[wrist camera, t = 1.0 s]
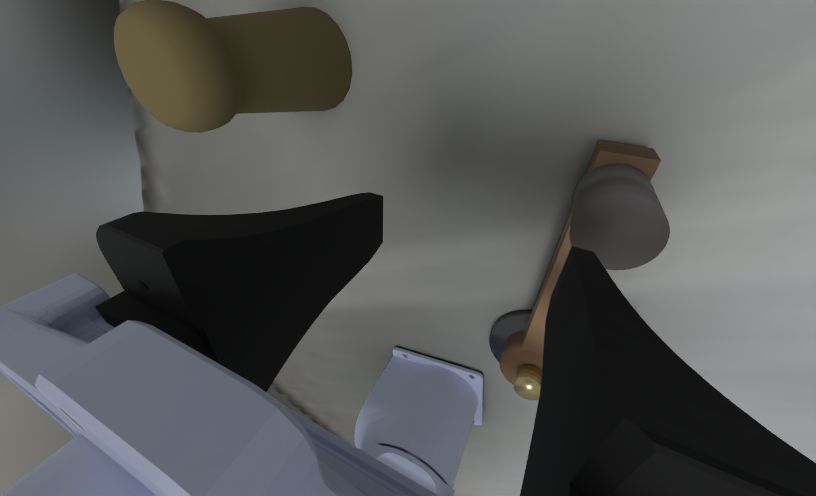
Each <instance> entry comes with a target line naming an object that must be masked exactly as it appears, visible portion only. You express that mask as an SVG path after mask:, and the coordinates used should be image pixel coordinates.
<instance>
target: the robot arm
mask: <svg viewBox="0 0 816 496" xmlns="http://www.w3.org/2000/svg"><path fill="white" fill-rule="evenodd" d="M96 237H97V242H98V245H99V247H100V249H101V251H102V253H103V255H104V257H105V259H106V260H107V262H108V264H109V265H110V267H111V269H112V270H113V272H114V274H115V275H116V277H117V279H118V280H119V282H120V284H121V285H122V287H123V289H124V290H125V291H123V292H121V293H119V294H117V295H116V296H114V297H112V298H110V297H109V295H108V294H107V293H106V291H105V290H104V289H103V288H102V287H101V286H99V285H98V284H97V283H95V282H93V281H91V280H89V279H88V278H86V277H84V276H82V275H80V274H76V273H75V274H72V275H70V276H67V277H65V278H63V279H61V280H59V281H56V282H54V283H52V284H50V285H47V286H45V287H43V288H41V289H38V290H36V291H34V292H32V293H30V294H27V295H25V296H23V297H21V298H18V299H16V300H14V301H12V302H9V303H7V304H5V305H3V306H1V307H0V371H1V372H2V373H3V374H4V375H5V376H6V377H7V378H8V379H9V380H11V381H12V382H13V383H14V384H15V385H16V386H17V387H18V388H20V389H21V390H22V391H23V392H24V393H25V394H27V395H28V396H29V397H30V398H31V399H32V400H33V401H34V402H36V403H37V404H38V405H39V406H40V407H41V408H43V409H44V410H45V411H46V412H47V413H48V414H49V415H51V416H52V417H53V418H54V419H55V420H56V421H57V422H59V423H60V424H61V425H62V426H63V427H64V428H65V429H67V430H68V431H69V432H70V433H71V434H72V435H74V436H75V438H73V439H72V440H71V441H70V442H68V443H67V444H66V445H65V446H63V447H62V448H61V449H59V450H58V451H57V452H55V453H54V454H53V455H51V456H50V457H49V458H47V459H46V460H45V461H44V462H42V463H41V464H40V465H38V466H37V467H36V468H34V469H33V470H32V471H31V472H29V473H28V474H27V475H25V476H24V477H23V478H21V479H20V480H19V481H17V482H16V483H15V484H14V485H12V486H11V487H10V488H8V489H7V490H6V491H4V492H3V493H2V494H1V495H0V496H453V495H454V489H453V485H454V481H455V478H456V475H457V471H458V468H459V465H460V462H461V458H462V455H463V452H464V449H465V445H466V442H467V439H468V435H469V432H470V429H471V426H472V424H474V425H477V426H481V425H482V422H483V381H484V377H483V375H482V374H481V373H479V372H476V371H473V370H470V369H467V368H463V367H460V366H457V365H454V364H450V363H447V362H444V361H440V360H437V359H434V358H431V357H427V356H424V355H421V354H417V353H414V352H411V351H408V350H404V349H401V348H398V347H395V348H394V349H393V357H392V359H391V360H390V362H389V363H388V365H387V367H386V368H385V370H384V371H383V373H382V375H381V376H380V378H379V379H378V381H377V383H376V384H375V386H374V387H373V389H372V391H371V392H370V394H369V395H368V397H367V399H366V400H365V402H364V404H363V406H362V408H361V411H360V413H359V416H358V419H357V423H356V427H355V445H356V447H357V448H356V447H354V446H352V445H351V444H349V443H347V442H345V441H344V440H342V439H340V438H339V437H337V436H335V435H333V434H332V433H330V432H328V431H327V430H325V429H323V428H321V427H320V426H318V425H316V424H314V423H313V422H311V421H309V420H308V419H306V418H304V417H302V416H301V415H299V414H297V413H296V412H294V411H292V410H290V409H288V408H287V407H285V406H283V405H282V404H281V403H280V402H278V401H277V400H275V399H274V398H273V397H271V396H270V395H269V394H267V393H266V392H267V390H268V389H269V387H270V386H271V384H272V382H273V381H274V379H275V377H276V376H277V374H278V373H279V371H280V369H281V368H282V366H283V365H284V363H285V362H286V360H287V359H288V357H289V356H290V355H291V353H292V352H293V350H294V349H295V347H296V346H297V344H298V343H299V341H300V340H301V339H302V337H303V336H304V335H305V333H306V332H307V330H308V329H309V328H310V326H311V325H312V324H313V322H314V321H315V320H316V318H317V317H318V316H319V315H320V313H321V312H322V311H323V309H324V308H325V307H326V306H327V305H328V303H329V302H330V301H331V300H332V299H333V298H334V297H335V296H336V295H337V294H338V293H339V292H340V291H341V290H342V289H343V288H344V287H345V286H346V285H347V284H348V283H349V281H350V280H351V279H352V278H353V277H354V276H355V275H356V274H357V273H358V272H359V271H360V270H361V269H362V268H363V267H364V266H365V265H366V264H367V263H368V262H369V261H370V259H371V258H372V257H373V255H374V254H375V253H376V251H377V250H378V248H379V247H380V245H381V244H382V242H383V196H381V195H377V194H373V193H360V194H355V195H350V196H346V197H342V198H337V199H333V200H329V201H325V202H321V203H316V204H311V205H306V206H301V207H297V208H291V209H285V210H279V211H271V212H263V213H250V214H234V215H183V214H168V213H153V212H137V213H132V214H129V215H127V216H124V217H122V218H119V219H116V220H114V221H111V222H108V223H106V224H103V225H101V226H99V228H98V230H97V233H96ZM520 496H816V463H814V462H813V461H812V460H810V459H809V458H807V457H806V456H804V455H803V454H801V453H800V452H799V451H797V450H796V449H794V448H793V447H791V446H790V445H788V444H787V443H786V442H784V441H783V440H781V439H780V438H778V437H777V436H776V435H774V434H773V433H772V432H770V431H769V430H767V429H766V428H765V427H764V426H762V425H761V424H760V423H758V422H757V421H756V420H754V419H753V418H752V417H750V416H749V415H748V414H747V413H745V412H744V411H743V410H741V409H740V408H739V407H737V406H736V405H735V404H733V403H732V402H731V401H730V400H729V399H727V398H726V397H725V396H724V395H722V394H721V393H720V392H719V391H717V390H716V389H715V388H714V387H713V386H711V385H710V384H709V383H708V382H707V381H706V380H704V379H703V378H702V377H701V376H700V375H699V374H698V373H696V372H695V371H694V370H693V369H692V368H691V367H690V366H688V365H687V364H686V363H685V362H684V361H683V360H682V359H681V358H680V357H679V356H678V355H677V354H675V353H674V352H673V351H672V350H671V349H670V348H669V347H668V346H667V345H666V344H665V343H664V342H663V341H662V340H661V338H660V337H659V336H658V335H657V334H656V333H655V332H654V331H653V330H652V329H651V328H650V327H649V326H648V325H647V324H646V323H645V321H644V320H643V319H642V318H641V317H640V315H639V314H638V313H637V312H636V311H635V309H634V308H633V307H632V306H631V305H630V303H629V302H628V301H627V299H626V298H625V297H624V295H623V294H622V293H621V291H620V290H619V289H618V287H617V286H616V284H615V283H614V282H613V280H612V279H611V277H610V276H609V274H608V273H607V271H606V270H605V268H604V267H603V265H602V263H601V262H600V260H599V259H598V257H597V256H596V254H595V253H594V252H593V251H589V250H585V249H582V248H578V247H574V246H572V247H571V249H570V251H569V254H568V256H567V259H566V261H565V263H564V266H563V268H562V271H561V273H560V275H559V278H558V280H557V283H556V285H555V287H554V290H553V292H552V294H551V298H550V302H549V307H548V312H547V316H546V321H545V334H544V349H543V364H542V379H541V389H540V397H539V403H538V408H537V413H536V419H535V424H534V429H533V435H532V440H531V445H530V450H529V455H528V460H527V465H526V470H525V474H524V479H523V484H522V489H521V493H520Z"/></svg>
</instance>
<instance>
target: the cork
mask: <svg viewBox="0 0 816 496" xmlns="http://www.w3.org/2000/svg"><path fill="white" fill-rule="evenodd" d="M114 45H115V52H116V56H117V60H118V64H119V66H120V69H121V71H122V73H123V76H124V78H125V80H126V82H127V84H128V85H129V87H130V89H131V91H132V93H133V94H134V95H135V97H136V98H137V99H138V100H139V102H140V103H141V104H142V106H143V107H144V108H145V109H146V110H147V111H148V112H150V113H151V114H152V115H153V116H154V117H155V118H156V119H157V120H158V121H160V122H162V123H163V124H165V125H167V126H169V127H172V128H175V129H178V130H182V131H186V132H200V133H201V132H205V131H209V130H213V129H216V128H219V127H221V126H223V125H225V124H226V123H228V122H230V121H231V119H232V118H233V117H234V116H235V114H238V113H268V112H298V111H325V110H329V109H332V108H335V107H336V106H337V105H338V104H340V103H341V102H342V101H343V100H344V98H345V96H346V94H347V92H348V90H349V87H350V82H351V76H352V66H351V55H350V52H349V48H348V45H347V41H346V39H345V37H344V35H343V34H342V32H341V30H340V28H339V26H338V25H337V24H336V23H335V22H334V21H333V20H332V19H331V18H330V17H329V15H328V14H326V13H324V12H322V11H320V10H318V9H316V8H309V7H302V8H293V9H284V10H275V11H266V12H258V13H249V14H240V15H231V16H222V17H214V18H205V17H204V16H203V15H201V14H199V13H198V12H196V11H194V10H192V9H190V8H188V7H186V6H183V5H180V4H178V3H175V2H170V1H162V0H145V1H140V2H135V3H133V4H132V5H131V6H129V7H128V8H127V9H126V10H125V11H123V12H122V13H121V14H120V15H119V16H118V17H117V20H116V23H115V27H114Z"/></svg>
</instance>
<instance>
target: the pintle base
mask: <svg viewBox="0 0 816 496" xmlns="http://www.w3.org/2000/svg"><path fill="white" fill-rule="evenodd" d="M532 311H533V310H519V311H513V312H510V313H507V314H505V315H503V316H502V317H500V318H499V319H498V320H497V321H496V322H495V324H494V325H493V328H492V331H491V334H490V338H489V343H490V348H491V350H492V353H493V354H494V356H495V358H496V359H497V360H498V361H499V362H500V361H501V358H502V354H503V350H504V347H505V343H506V340H507V339H508V337H509V336H510V335H512V334H513V333H516V332H519V331H525V329H526V326H527V324H528V321H529V318H530V316H531V313H532ZM541 379H542V371H541V370H540V369H538V368H537V367H535V366H532V365H522V366H520V367H519V368H518V371H517V376H516V380H515V385H514V390H515V391H516V393H517V394H518V395H519V396H521V397H523V398H525V399H528V400H538V399H539V397H540V389H541Z"/></svg>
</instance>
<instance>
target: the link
mask: <svg viewBox="0 0 816 496" xmlns="http://www.w3.org/2000/svg"><path fill="white" fill-rule="evenodd" d="M660 161H661V160H660V158H659V157H658V155H657V154H656V152H655V150H654V149H652V148H645V147H639V146H632V145H626V144H620V143H613V142H607V141H601V140H598V143H597V145H596V148H595V150H594V153H593V156H592V158H591V161H590V163H589V166H588V169H587V171H586V174H585V175H584V176H583V177H582V178H581V180H580V181H579V182H578V184H577V185H576V187H575V190H574V193H573V202H572V210H571V212H570V215H569V218H568V220H567V223H566V225H565V228H564V231H563V233H562V236H561V238H560V241H559V243H558V246H557V249H556V251H555V254H554V256H553V259H552V262H551V264H550V267H549V269H548V272H547V274H546V277H545V280H544V282H543V285H542V287H541V290H540V293H539V295H538V298H537V300H536V303H535V305H534V308H533V311H532V313H531V316H530V318H529V321H528V324H527V326H526V329H525V331H519V332H516V333H513V334H512V335H510V336H509V337H508V339H507V340H506V343H505V347H504V350H503V354H502V358H501V361H500V368H501V371H502V373H503V375H504V376H505V378H506V379H507V380H508V381H509V382H511V383H512V384H513V385H515V380H516V376H517V371H518V368H519V367H520V366H522V365H532V366H535V367H537V368H538V369H540V370H541V371H542V364H543V349H544V334H545V321H546V316H547V312H548V307H549V302H550V298H551V294H552V292H553V290H554V287H555V285H556V283H557V280H558V278H559V275H560V273H561V271H562V268H563V266H564V263H565V261H566V259H567V256H568V254H569V251H570V249H571V247H572V246H574V247H578V248H582V249H585V250H589V251H593V252H594V253H595V254H596V256H597V257H598V259H599V260H600V262H601V263H602V265H603V267H604V268H605V269H608V270H625V269H631V268H635V267H638V266H641V265H643V264H646V263H648V262H649V261H651V260H652V259H654V258H655V257H656V256H658V255H659V254H660V252H661V251H662V250H663V249H664V247H665V246H666V244H667V242H668V239H669V233H670V228H669V223H668V220H667V218H666V215H665V213H664V211H663V209H662V207H661V204H660V202H659V200H658V198H657V195H656V193H655V191H654V189H653V186H652V184H651V182H650V181H651V179H652V177H653V175H654V173H655V171H656V169H657V167H658V165H659V163H660Z"/></svg>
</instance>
